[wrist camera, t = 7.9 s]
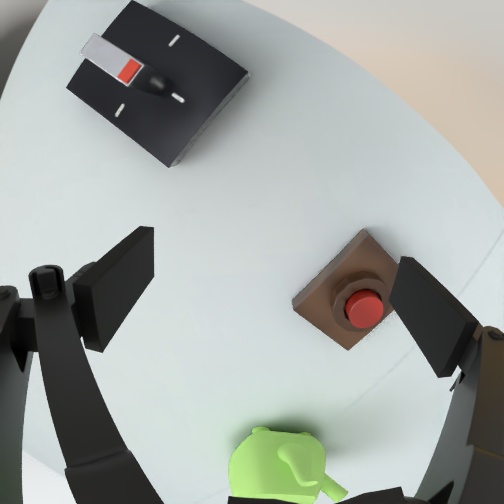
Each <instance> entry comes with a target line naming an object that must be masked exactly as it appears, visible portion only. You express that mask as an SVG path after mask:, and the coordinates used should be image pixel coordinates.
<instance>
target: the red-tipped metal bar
mask: <svg viewBox="0 0 504 504" xmlns="http://www.w3.org/2000/svg"><path fill="white" fill-rule="evenodd" d="M80 54H81V55H82V56H84V57H85V58H87V59H88V60H90V61H91V62H93V63H94V64H96V65H97V66H99V67H100V68H102V69H103V70H105V71H106V72H107V73H109V74H110V75H112V76H113V77H115V78H116V79H117V80H119V81H120V82H122V83H123V84H125V85H126V86H127V87H130V88H134V89H137V90H140V91H143V92H146V93H148V94H151V95H154V96H157V97H160V98H162V96H163V95H164V94H165V93H166V91H167V90H168V89H169V87H170V86H171V85H172V84H173V83H174V82H173V81H172V80H171V79H169V78H168V77H166V76H165V75H163V74H162V73H161V72H159V71H158V70H156V69H155V68H153V67H152V66H150V65H149V64H147V63H146V62H144V61H143V60H141V59H140V58H138V57H137V56H135V55H134V54H132V53H130V52H128V51H127V50H125V49H123V48H121V47H119V46H118V45H116V44H114V43H112V42H110V41H108V40H106V39H105V38H103V37H101V36H99V35H97V34H95V33H94V34H93V35H92V37H91V38H90V39H89V41H88V42H87V43H86V45H85V46H84V47H83V49H82V50H81V52H80Z"/></svg>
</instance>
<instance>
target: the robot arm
mask: <svg viewBox="0 0 504 504" xmlns="http://www.w3.org/2000/svg"><path fill="white" fill-rule="evenodd" d="M28 276H29V281H30V286H31V291H32V295H33V299H31V298H19V294H18V290H17V289H16V287H14V286H0V504H23V495H22V439H23V424H24V413H25V404H26V395H27V388H28V381H29V375H30V369H31V364H32V358H33V353H34V352H39V359H40V365H41V371H42V376H43V381H44V386H45V391H46V396H47V400H48V404H49V408H50V412H51V416H52V420H53V424H54V427H55V431H56V434H57V438H58V441H59V444H60V447H61V450H62V453H63V456H64V459H65V462H66V466H67V468H66V469H65V475H66V478H67V481H68V484H69V487H70V489H71V491H72V494H73V496H74V499H75V501H76V503H77V504H164V503H163V501H162V500H161V498H160V497H159V495H158V494H157V492H156V491H155V489H154V488H153V486H152V485H151V483H150V482H149V480H148V478H147V477H146V475H145V473H144V472H143V470H142V469H141V467H140V465H139V463H138V462H137V460H136V458H135V457H134V455H133V454H132V452H131V451H130V450H128V448H127V446H126V445H125V443H124V441H123V439H122V437H121V435H120V433H119V431H118V429H117V427H116V425H115V423H114V421H113V419H112V417H111V415H110V413H109V411H108V408H107V406H106V404H105V402H104V399H103V397H102V395H101V392H100V390H99V388H98V385H97V383H96V380H95V378H94V375H93V373H92V370H91V368H90V365H89V362H88V360H87V357H86V354H85V351H84V349H83V346H82V343H81V340H80V338H81V337H83V341H84V345H85V348H86V349H90V350H94V351H97V352H101V353H103V351H104V350H105V348H106V347H107V345H108V343H109V342H110V340H111V339H112V337H113V336H114V334H115V333H116V331H117V330H118V328H119V327H120V325H121V324H122V322H123V321H124V319H125V318H126V316H127V315H128V313H129V312H130V310H131V309H132V307H133V306H134V305H135V303H136V302H137V300H138V299H139V297H140V296H141V294H142V293H143V292H144V290H145V289H146V287H147V286H148V284H149V283H150V282H151V280H152V279H153V277H154V227H146V226H139V227H138V228H137V229H136V230H134V231H133V232H132V233H131V234H129V235H128V236H127V237H126V238H124V239H123V240H122V241H121V242H120V243H118V244H117V245H116V246H115V247H113V248H112V249H111V250H110V251H109V252H108V253H106V254H105V255H104V256H103V257H102V258H100V259H99V260H98V261H97V262H91V263H89V264H87V265H84V266H83V267H82V268H80V269H79V270H78V272H76V273H75V274H73V276H71V277H70V278H69V279H68V280H66V281H64V275H63V269H62V268H61V267H59V266H57V265H44V266H40V267H37V268H35V269H33V270H32V271H31V272H30V273H29V275H28ZM388 301H389V303H390V304H391V305H392V307H393V308H394V310H395V311H396V313H397V314H398V316H399V317H400V319H401V320H402V322H403V323H404V325H405V326H406V328H407V329H408V331H409V332H410V334H411V335H412V337H413V338H414V340H415V341H416V343H417V345H418V346H419V348H420V349H421V351H422V352H423V354H424V356H425V357H426V359H427V360H428V362H429V364H430V365H431V367H432V368H433V370H434V372H435V373H436V375H437V377H438V378H442V377H451V376H452V374H453V372H454V371H455V369H456V367H457V365H458V366H459V367H460V369H461V370H462V371H461V372H460V374H459V376H458V377H457V379H456V381H455V382H454V384H453V386H452V387H451V389H450V391H451V392H452V390H453V389H454V393H453V396H452V400H451V404H450V407H449V410H448V414H447V417H446V420H445V423H444V426H443V429H442V432H441V435H440V438H439V441H438V443H437V446H436V449H435V451H434V454H433V457H432V459H431V462H430V464H429V466H428V469H427V471H426V473H425V476H424V478H423V480H422V482H421V484H420V487H419V489H418V491H417V493H416V495H415V496H414V497H406V496H404V495H403V491H402V488H401V487H396V488H391V489H386V490H380V491H375V492H368V493H364V494H361V495H358V496H356V497H353V498H350V499H347V500H345V501H342V502H339V503H336V504H504V333H503V332H501V331H500V330H499V329H497V328H495V327H491V326H485V327H483V326H482V325H481V324H480V323H479V321H478V320H477V319H476V318H475V317H474V316H473V315H472V314H471V313H470V312H469V311H468V310H467V309H466V308H465V307H464V306H463V305H462V304H461V303H460V302H459V301H458V300H457V299H456V298H455V297H454V296H453V295H452V294H451V293H450V292H449V291H448V290H447V289H446V288H445V287H444V286H443V285H442V284H441V283H440V282H439V281H438V280H437V279H436V278H435V277H434V276H433V275H431V274H430V273H429V272H428V271H427V270H426V269H425V268H424V267H423V266H422V265H421V264H420V263H418V262H417V261H416V260H415V259H414V258H413V257H405V256H401V260H400V263H399V267H398V270H397V274H396V277H395V280H394V284H393V287H392V290H391V293H390V296H389V299H388ZM227 504H299V503H293V502H288V501H283V500H279V499H265V498H245V497H232V496H229V497H228V503H227Z"/></svg>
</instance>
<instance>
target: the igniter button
mask: <svg viewBox="0 0 504 504" xmlns="http://www.w3.org/2000/svg"><path fill="white" fill-rule="evenodd" d="M346 313H347V315H348V318H349V320H350V322H351V323H352V324H353V325H354V326H355V327H358V328H367V327H370V326H372V325H374V324H376V323H377V322H378V321H379V320H380V318H381V316H382V314H383V304H382V302H381V301H380V299H379V297H378V296H377V294H376V293H375V292H373V291H371V290H360V291H358V292H356V293H354V294H353V295H352V296H351V297H350V298H349V299H348V301H347V303H346Z"/></svg>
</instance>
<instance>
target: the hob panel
mask: <svg viewBox="0 0 504 504" xmlns="http://www.w3.org/2000/svg"><path fill="white" fill-rule="evenodd" d="M101 37H103V38H105V39H106V40H108V41H110V42H112V43H114V44H116V45H118V46H119V47H121V48H123V49H125V50H127V51H128V52H130V53H132V54H134V55H135V56H137V57H138V58H140V59H141V60H143V61H144V62H146V63H147V64H149V65H150V66H152V67H153V68H155V69H156V70H158V71H159V72H161V73H162V74H163V75H165V76H166V77H168V78H169V79H171V80H172V81H173V82H174V83H173V84H172V85H171V86H170V87H169V89H168V90H167V91H166V93H165V94H164V95H163V96H162V98H160V97H157V96H154V95H151V94H148V93H146V92H143V91H140V90H137V89H134V88H130V87H127V86H126V85H125V84H123V83H122V82H120V81H119V80H117V79H116V78H115V77H113V76H112V75H110V74H109V73H107V72H106V71H105V70H103V69H102V68H100V67H99V66H97V65H96V64H94V63H93V62H91V61H90V60H88V59H87V58H85V59H84V61H83V62H82V64H81V65H80V67H79V68H78V70H77V71H76V73H75V74H74V76H73V77H72V79H71V81H70V82H69V84H68V85H67V87H66V88H67V89H68V90H70V91H71V92H72V93H73V94H75V95H76V96H77V97H79V98H80V99H81V100H83V101H84V102H85V103H86V104H88V105H89V106H90V107H92V108H93V109H94V110H96V111H97V112H98V113H99V114H101V115H102V116H103V117H105V118H106V119H107V120H108V121H110V122H111V123H112V124H114V125H115V126H116V127H117V128H119V129H120V130H121V131H123V132H124V133H125V134H126V135H128V136H129V137H130V138H132V139H133V140H134V141H135V142H137V143H138V144H139V145H140V146H142V147H143V148H144V149H146V150H147V151H148V152H149V153H151V154H152V155H153V156H154V157H156V158H157V159H158V160H159V161H161V162H162V163H163V164H165V165H166V166H167V167H168V168H169V167H172V166H175V165H177V164H178V163H179V161H180V160H181V159H182V157H183V156H184V155H185V154H186V152H187V151H188V150H189V148H190V147H191V146H192V145H193V143H194V142H195V141H196V140H197V138H198V137H199V136H200V135H201V133H202V132H203V131H204V130H205V128H206V127H207V126H208V125H209V124H210V122H211V121H212V120H213V119H214V118H215V116H216V115H217V114H218V113H219V112H220V111H221V109H222V108H223V107H224V106H225V105H226V104H227V102H228V101H229V100H230V99H231V98H232V97H233V96H234V95H235V93H236V92H237V91H238V90H239V89H240V88H241V87H242V86H243V85H244V83H245V82H246V81H247V80H248V79H249V73H248V71H246V70H245V69H244V68H242V67H241V66H240V65H238V64H237V63H235V62H234V61H233V60H231V59H230V58H228V57H227V56H225V55H224V54H223V53H221V52H220V51H218V50H217V49H215V48H214V47H212V46H211V45H209V44H208V43H206V42H205V41H203V40H202V39H200V38H198V37H197V36H195V35H194V34H192V33H190V32H189V31H187V30H186V29H184V28H182V27H181V26H179V25H177V24H176V23H174V22H172V21H170V20H169V19H167V18H165V17H163V16H162V15H160V14H158V13H156V12H154V11H153V10H151V9H149V8H147V7H145V6H143V5H141V4H139V3H137V2H135V1H133V0H131V1H130V3H129V4H128V5H127V6H126V7H125V8H124V9H123V10H122V12H121V13H120V14H119V15H118V16H117V17H116V19H115V20H114V21H113V22H112V23H111V25H110V26H109V27H108V28H107V30H106V31H105V32H104V33H103V35H102V36H101Z"/></svg>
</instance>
